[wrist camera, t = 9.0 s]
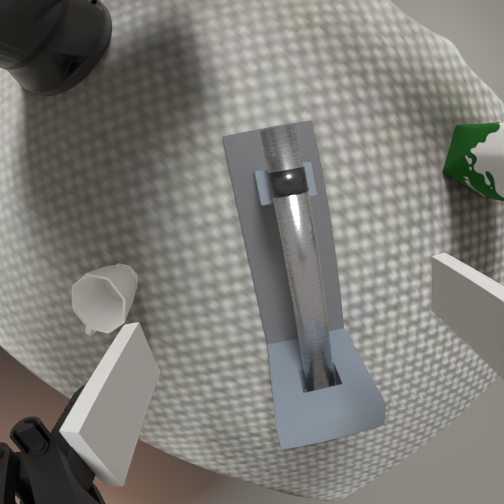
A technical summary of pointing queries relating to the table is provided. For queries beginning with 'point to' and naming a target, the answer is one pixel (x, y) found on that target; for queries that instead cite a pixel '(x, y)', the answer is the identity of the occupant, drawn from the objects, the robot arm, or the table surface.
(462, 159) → the milk carton
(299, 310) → the shaft
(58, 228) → the table surface
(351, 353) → the rig
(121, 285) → the cup
